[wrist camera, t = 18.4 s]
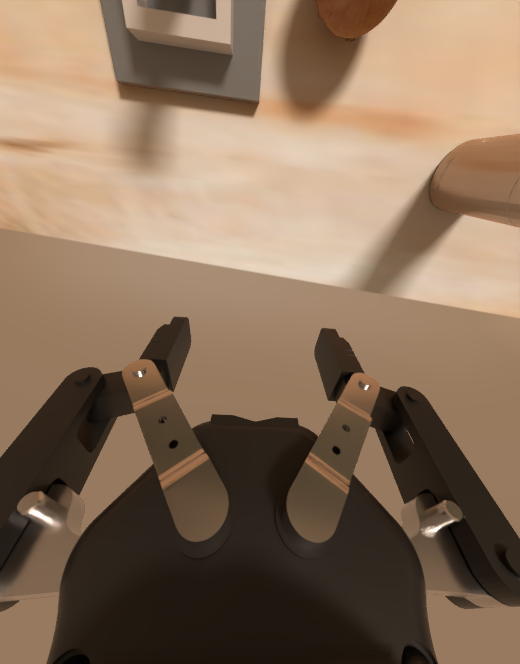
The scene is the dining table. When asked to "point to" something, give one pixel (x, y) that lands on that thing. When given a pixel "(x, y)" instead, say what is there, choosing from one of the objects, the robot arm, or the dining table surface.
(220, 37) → the square socket base
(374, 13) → the onion
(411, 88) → the dining table surface
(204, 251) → the dining table surface
